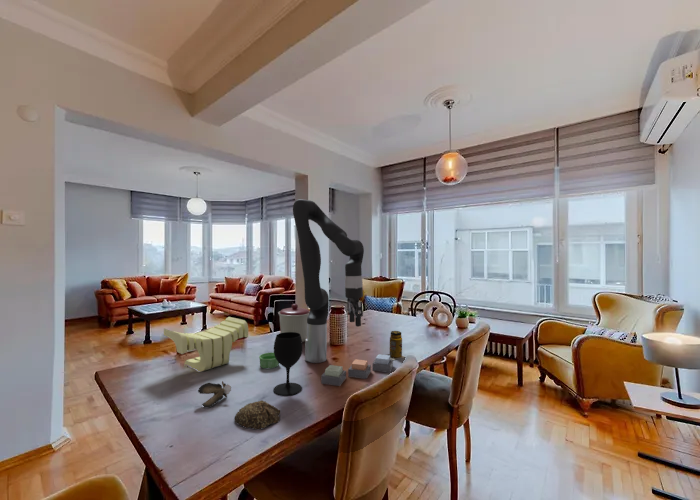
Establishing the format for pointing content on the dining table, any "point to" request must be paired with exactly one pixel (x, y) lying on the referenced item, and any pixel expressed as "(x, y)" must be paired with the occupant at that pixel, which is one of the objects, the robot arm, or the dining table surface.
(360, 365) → the terracotta button
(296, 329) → the canister
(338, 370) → the sage green button
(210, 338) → the slatted curved stool
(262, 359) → the ramekin
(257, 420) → the brown low domed lump
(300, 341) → the wine glass
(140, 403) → the dining table surface
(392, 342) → the condiment
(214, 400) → the eagle figurine
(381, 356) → the dusty blue button
